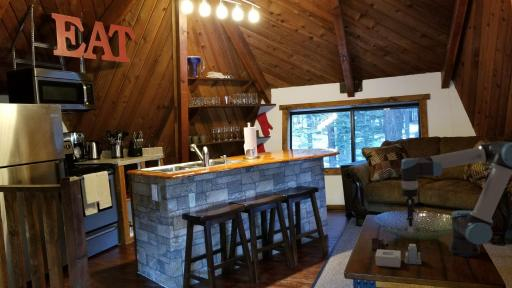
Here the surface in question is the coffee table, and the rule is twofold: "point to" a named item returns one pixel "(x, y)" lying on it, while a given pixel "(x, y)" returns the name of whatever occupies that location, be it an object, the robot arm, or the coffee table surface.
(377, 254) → the panel
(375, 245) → the electronic device
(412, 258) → the plug
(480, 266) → the coffee table surface
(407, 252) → the holster
